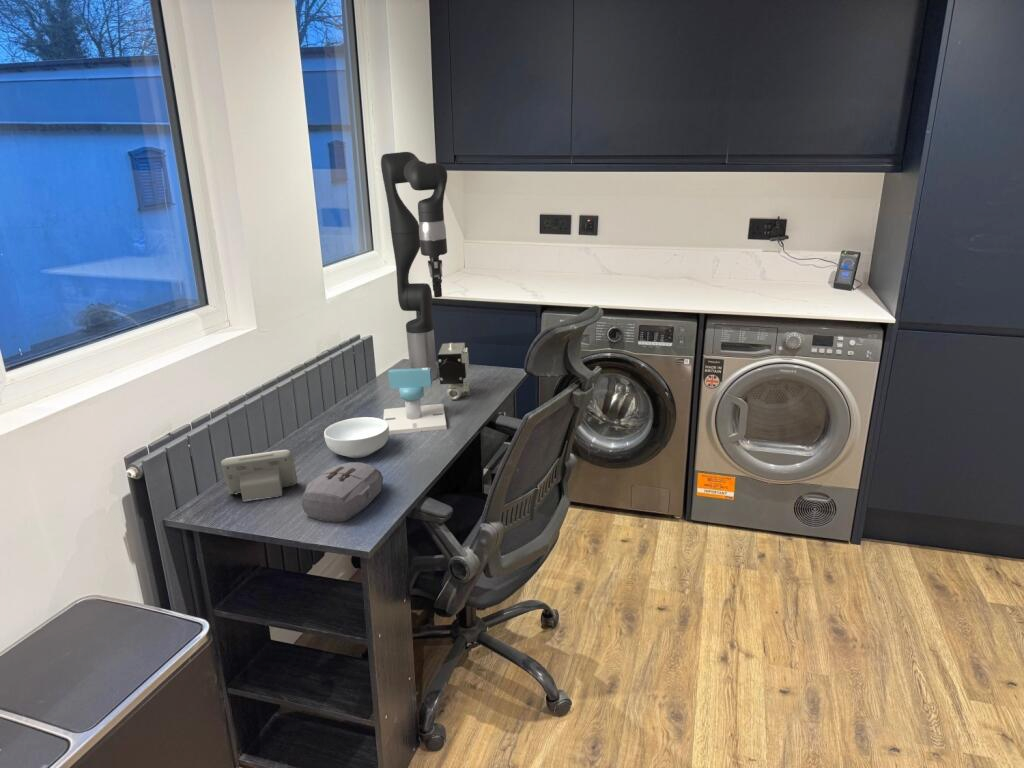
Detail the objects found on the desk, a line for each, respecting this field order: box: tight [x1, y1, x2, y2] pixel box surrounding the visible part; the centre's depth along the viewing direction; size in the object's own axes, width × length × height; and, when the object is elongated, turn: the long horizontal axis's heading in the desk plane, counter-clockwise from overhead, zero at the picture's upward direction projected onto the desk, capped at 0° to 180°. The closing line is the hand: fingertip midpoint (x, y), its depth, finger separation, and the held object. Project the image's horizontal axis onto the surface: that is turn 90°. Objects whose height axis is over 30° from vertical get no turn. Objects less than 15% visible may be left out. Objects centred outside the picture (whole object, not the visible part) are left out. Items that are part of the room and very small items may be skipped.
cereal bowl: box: [323, 416, 390, 459], centre depth 190 cm, size 17×17×7 cm
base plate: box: [382, 398, 448, 436], centre depth 210 cm, size 18×18×8 cm
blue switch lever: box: [387, 368, 433, 401], centre depth 207 cm, size 12×7×8 cm, turn 90°
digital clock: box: [220, 449, 298, 501], centre depth 169 cm, size 16×9×11 cm, turn 94°
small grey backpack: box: [301, 462, 384, 523], centre depth 164 cm, size 15×8×20 cm
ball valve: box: [437, 341, 471, 401], centre depth 227 cm, size 18×8×18 cm, turn 179°
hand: (437, 294), depth 206 cm, fingers open, 8 cm apart
